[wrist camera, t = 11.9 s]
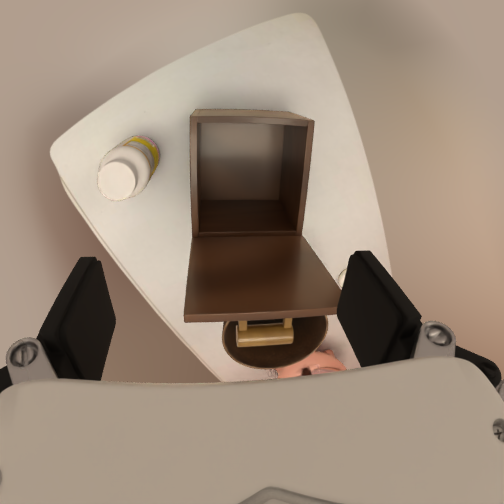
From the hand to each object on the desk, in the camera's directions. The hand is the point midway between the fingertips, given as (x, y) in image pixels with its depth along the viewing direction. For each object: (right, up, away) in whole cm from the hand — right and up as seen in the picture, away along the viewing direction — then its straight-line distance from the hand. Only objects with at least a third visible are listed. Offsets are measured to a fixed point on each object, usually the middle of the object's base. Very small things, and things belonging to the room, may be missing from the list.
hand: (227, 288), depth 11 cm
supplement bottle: (-16, +16, +31) cm, 38 cm away
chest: (-1, +15, +33) cm, 37 cm away
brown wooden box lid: (+1, 0, +19) cm, 19 cm away
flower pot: (+2, -2, +44) cm, 44 cm away
